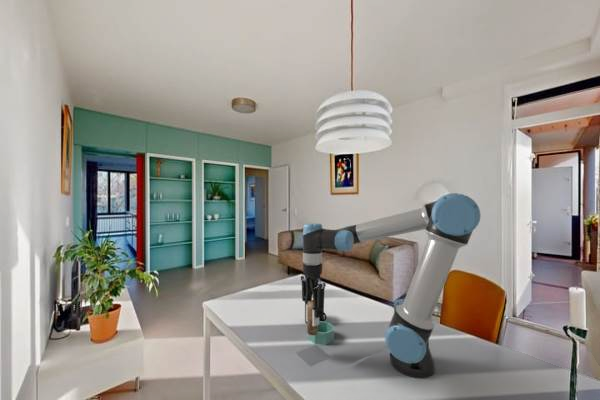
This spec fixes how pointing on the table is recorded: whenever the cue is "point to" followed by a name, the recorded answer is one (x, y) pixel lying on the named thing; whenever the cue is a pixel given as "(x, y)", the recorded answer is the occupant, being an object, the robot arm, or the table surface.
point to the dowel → (311, 319)
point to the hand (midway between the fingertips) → (312, 322)
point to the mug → (320, 315)
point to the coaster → (313, 355)
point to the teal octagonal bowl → (323, 334)
